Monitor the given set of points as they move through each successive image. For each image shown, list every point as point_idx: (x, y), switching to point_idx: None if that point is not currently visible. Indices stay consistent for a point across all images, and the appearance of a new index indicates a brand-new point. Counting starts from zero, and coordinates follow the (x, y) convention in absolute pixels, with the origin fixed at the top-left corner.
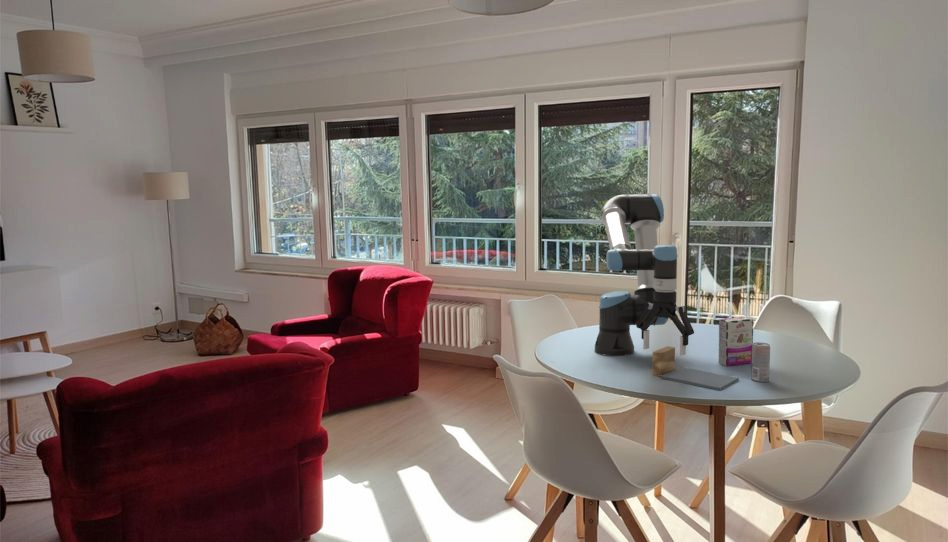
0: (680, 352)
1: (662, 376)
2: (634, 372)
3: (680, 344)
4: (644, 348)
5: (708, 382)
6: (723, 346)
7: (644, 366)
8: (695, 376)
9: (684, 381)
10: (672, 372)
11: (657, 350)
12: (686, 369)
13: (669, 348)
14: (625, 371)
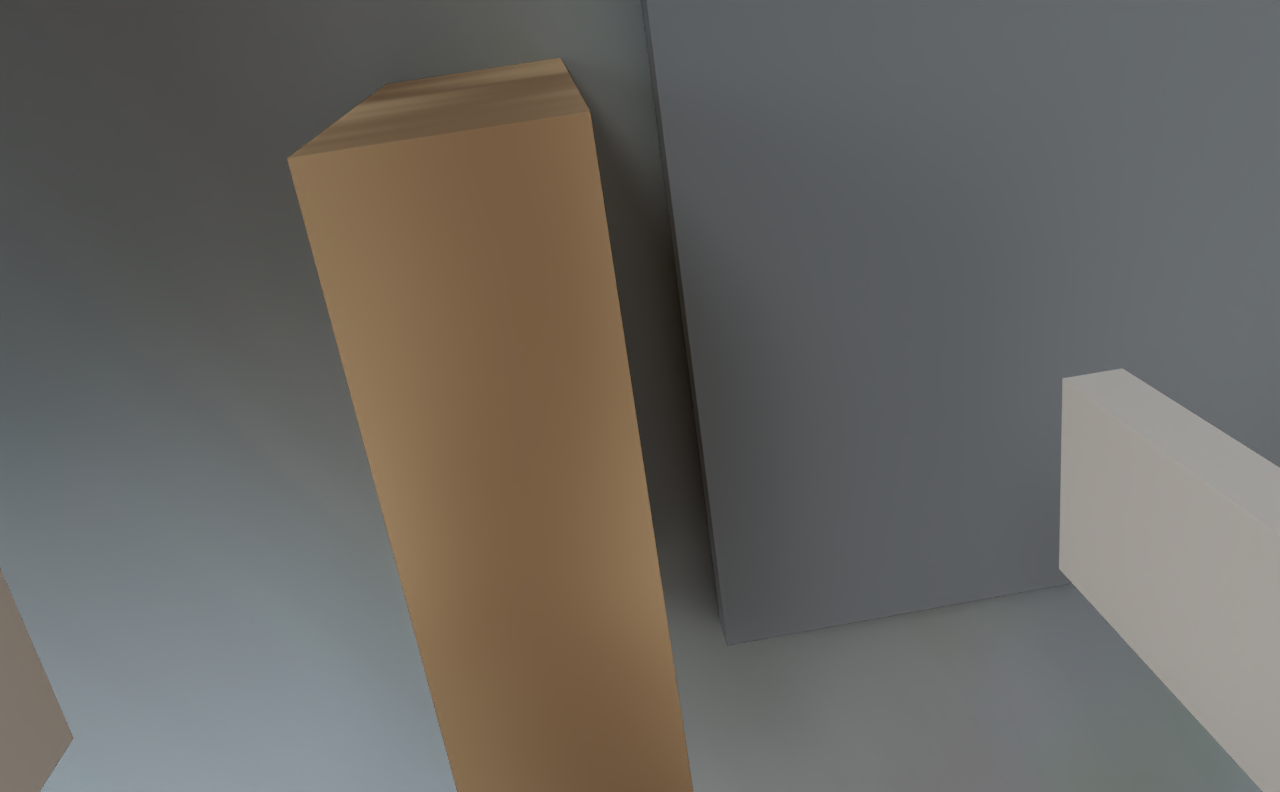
0: (1113, 607)
1: (742, 637)
2: (249, 706)
3: (1253, 758)
4: (36, 761)
5: None
6: None
7: (42, 326)
8: (1148, 281)
9: None
10: (745, 385)
11: (476, 744)
12: (818, 8)
13: (547, 346)
14: (123, 766)
